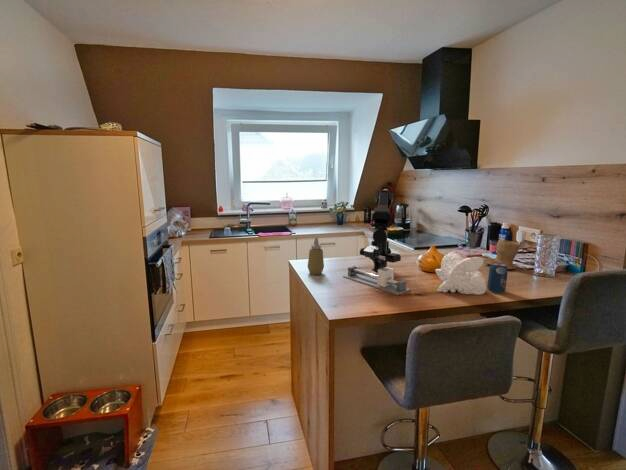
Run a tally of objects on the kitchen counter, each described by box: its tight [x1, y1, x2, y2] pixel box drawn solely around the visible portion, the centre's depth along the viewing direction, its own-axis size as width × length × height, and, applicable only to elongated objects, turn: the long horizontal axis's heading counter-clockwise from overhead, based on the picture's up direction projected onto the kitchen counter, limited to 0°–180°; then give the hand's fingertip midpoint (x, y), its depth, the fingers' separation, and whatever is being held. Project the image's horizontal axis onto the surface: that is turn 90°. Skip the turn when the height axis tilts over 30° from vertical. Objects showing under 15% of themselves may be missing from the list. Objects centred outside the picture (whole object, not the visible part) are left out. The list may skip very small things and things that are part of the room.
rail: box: [347, 265, 407, 292], centre depth 158 cm, size 30×4×4 cm, turn 41°
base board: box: [342, 274, 411, 296], centre depth 158 cm, size 31×9×1 cm, turn 41°
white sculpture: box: [435, 251, 487, 295], centre depth 150 cm, size 19×20×20 cm
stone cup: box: [483, 238, 520, 270], centre depth 189 cm, size 15×12×15 cm
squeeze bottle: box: [307, 236, 325, 276], centre depth 170 cm, size 8×8×18 cm
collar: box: [377, 266, 395, 287], centre depth 153 cm, size 4×6×7 cm, turn 131°
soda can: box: [486, 262, 509, 294], centre depth 149 cm, size 7×7×12 cm
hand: (378, 273), depth 156 cm, fingers closed
